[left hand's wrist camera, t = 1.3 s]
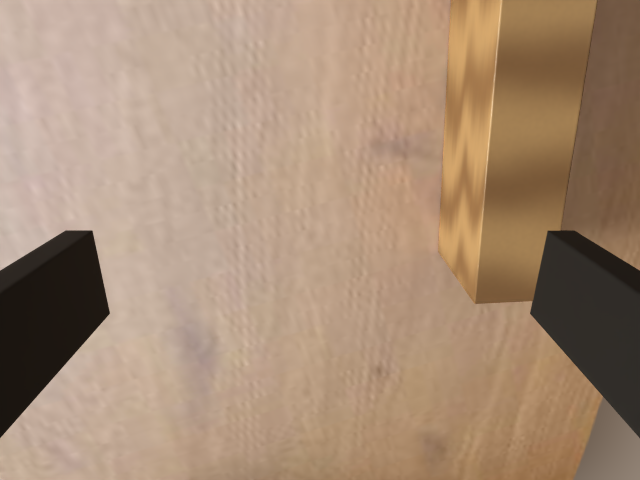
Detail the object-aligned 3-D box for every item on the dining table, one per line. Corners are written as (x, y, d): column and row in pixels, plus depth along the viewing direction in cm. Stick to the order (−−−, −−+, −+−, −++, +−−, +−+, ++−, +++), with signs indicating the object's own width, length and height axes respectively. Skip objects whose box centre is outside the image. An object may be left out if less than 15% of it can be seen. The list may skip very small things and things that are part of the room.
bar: (495, 249, 32) (550, 300, 25) (437, 252, 32) (474, 304, 25) (536, -138, 24) (636, -238, 16) (457, -133, 24) (521, -231, 16)
